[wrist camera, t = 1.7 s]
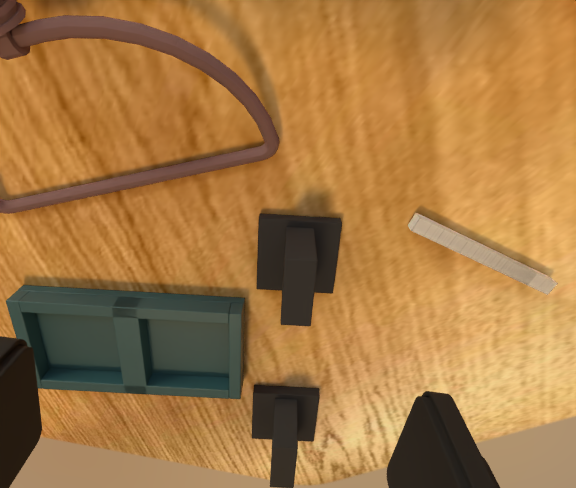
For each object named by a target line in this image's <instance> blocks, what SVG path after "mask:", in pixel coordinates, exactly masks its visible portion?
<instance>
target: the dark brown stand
mask: <svg viewBox="0 0 576 488" xmlns="http://www.w3.org/2000/svg"><path fill="white" fill-rule="evenodd" d="M341 227H342V222H341V219H340V218H326V217H310V216H293V215H277V214H260V215H259V229H258V260H257V289H266V290H282V306H281V325H296V326H311V318H312V308H313V299H314V292H317V293H333V288H334V281H335V273H336V265H337V258H338V250H339V242H340V235H341Z"/></svg>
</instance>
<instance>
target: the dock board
mask: <svg viewBox="0 0 576 488" xmlns="http://www.w3.org/2000/svg"><path fill="white" fill-rule="evenodd" d="M6 303H7V307H8V310H9V314H10V317H11V320H12V324H13V327H14V331H15V334H16V338H17V339H23V340H25V341H26V342H27V346H28V347H32V348H33V351H34V360H35V369H36V378H37V387H38V388H43V389H58V390H77V391H95V392H114V393H133V394H151V395H170V396H189V397H207V398H226V399H229V398H230V399H240V398H241V392H242V386H243V372H244V313H245V298H239V297H221V296H204V295H187V294H170V293H152V292H135V291H118V290H100V289H83V288H66V287H48V286H31V285H23V286H22V287H21V288H20V289H18V291H16V292H15V293H14V294H13V295H12V296H11V297H10V298H8V299H7V300H6Z"/></svg>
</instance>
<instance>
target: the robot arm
mask: <svg viewBox="0 0 576 488" xmlns="http://www.w3.org/2000/svg"><path fill="white" fill-rule="evenodd" d="M41 431H42V423H41V414H40V405H39V396H38V387H37V378H36V369H35V360H34V351H33V348H32V347H28V346H27V342H26V341H25V340H23V339H16V338H8V337H0V488H9V487H10V485H11V484H12V482H13V480H14V479H15V477H16V476H17V474H18V473H19V471H20V470H21V468H22V466H23V465H24V463H25V462H26V460H27V459H28V457H29V456H30V454H31V452H32V451H33V449H34V448H35V446H36V444H37V443H38V441H39V438H40V435H41ZM387 481H388V486H389V488H500V487H499V485H498V483H497V481H496V479H495V477H494V475H493V473H492V471H491V469H490V467H489V465H488V464H487V462H486V460H485V459H484V458H483V457H482V456H481V454H480V452H479V450H478V448H477V446H476V444H475V442H474V440H473V438H472V436H471V434H470V432H469V430H468V428H467V426H466V424H465V422H464V420H463V418H462V416H461V414H460V412H459V410H458V408H457V406H456V404H455V402H454V400H453V398H452V397H451V396H450V395H449V394H444V393H437V392H429V391H426V392H424V393H423V395H422V397H421V396H418V397H417V398H416V399H415V401H414V404H413V406H412V409H411V411H410V414H409V416H408V418H407V421H406V423H405V426H404V428H403V430H402V433H401V435H400V438H399V440H398V443H397V445H396V447H395V450H394V452H393V455H392V457H391V459H390V462H389V464H388V467H387Z"/></svg>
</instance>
